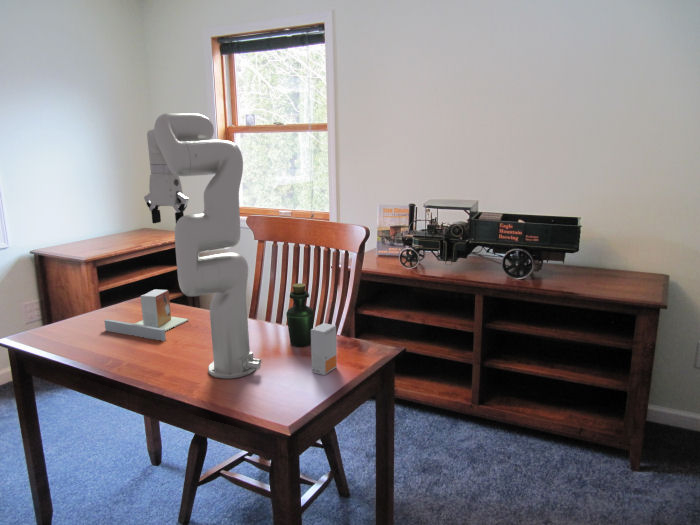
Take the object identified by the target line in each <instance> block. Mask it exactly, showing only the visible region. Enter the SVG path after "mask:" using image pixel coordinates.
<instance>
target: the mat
mask: <svg viewBox="0 0 700 525" xmlns="http://www.w3.org/2000/svg"><path fill="white" fill-rule="evenodd" d="M188 320H189V321H190V319H189V318H183V317H178V316H172V315H171V320H170V321H168V322H166V323H165V324H163V325H161V326H160V327H156V328H162V329H165V331H166V332H168V331H170V330H169V329H171V328H173V327H175V328H177V327H179V326H181V325H183V324H185V323H187V322H186V321H188ZM189 321H188V322H189ZM184 322H185V323H184ZM182 323H183V324H182ZM134 324H138V325H143V319H142V320H139V321H138V322H134ZM180 324H181V325H180ZM178 325H179V326H178ZM176 326H177V327H176ZM173 329H174V328H173ZM167 330H168V331H167ZM171 330H172V329H171Z"/></svg>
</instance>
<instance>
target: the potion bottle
mask: <svg viewBox="0 0 700 525" xmlns="http://www.w3.org/2000/svg"><path fill="white" fill-rule="evenodd" d="M292 289H293V291H290V294H289V299H292V301H293V304H294V305H293V306H292V307H290V308H288V309H287V311H286V321H287V330H288V336H289V342H290V343H289V344H291V346H293V347H297V348H305V347H308V346H311V329H313V328H314V314H315V313H314V310H313V308H311V306H308V305H306V299H308V298H310V293H309V291H307V290H306V284H305V283H301V282H300V283H294V284H292Z"/></svg>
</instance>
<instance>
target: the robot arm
mask: <svg viewBox="0 0 700 525" xmlns="http://www.w3.org/2000/svg"><path fill="white" fill-rule="evenodd" d="M153 126H154V128H153V129H149V130H148V131H147V133H146V138H147V148H148V159H149V167H150V169H149V170H150V174H149V181H148V182H149V185H148V186H149V187H148V188H149V193H148V194H146V195H145V196H144V197H143V199H144V201H145V203H146V206H147V207H148V208H149V211H150V212H151V221H152V224H159V223H161V221H162V218H161V210H160V209H159V208H160V207H172V208H173V209H174V210H175V212H174V218H175V227H174V243H175V244H174V247H175V258H176V259H175V260H176V270H177V271H176V272H177V280H178V286H179V289H180V291H181V292H182V294H184V295H185V296H186V297H200V296H205V295H209V294H210V295H211V294H214V296H213V297H212V299H211V301H210V306H209V321H210V329H211V330H210V332H211V333H210V334H211V343H212V345H211V346H212V355H213V356H212V358H213V361H212V362H211V363H209V365H208V366H207V369H208V370H207V371H208V374H209V375H210V376H212V377H214V378H218V379H228V380H229V379H238V378H242V377H244V376H247V375H250V374H252V373H253V372H255V371H256V370H257V371H259V370H260V369H261V364H262V362H263V361H262V359H261V358H255V357H254V351H251V348H250V332H249V320H248V302H247V298H248V297H247V296H248V295H247V289H248V280H249V265H248V262H247V259H246V257H244V256H243V255H242V254H239V253H236V252H223V253H218V254H217V253H216V254H210V255H209V254H208V255H204V256H200V255H201V254H202V253H208V252H214V251H220V250H226V249H232V248H235V247H236V246H237V245H238V244H239V243H240V241H241V240H240V239H241V213H240V196H239V195H240V189H241V188H240V187H241V181H242V179H243V178H242V177H243V173H244V172H243V170H244V159H243V155H242V151H241V149H240V147H239V146H238V145H237V144H236V143H235V142H234V141H233V142H232V141H230V140H224V139H223V140H222V139H213V136H214V133H215V132H214V131H215V128H214V125H213V123H212V121H211V120H210V119H209V118H208V117H207V116H205V115H203V114H202V113H201V114H200V113H195V112H193V113H191V112H185V113H184V112H183V113H182V112H180V113H179V112H178V113H177V112H175V113H173V112H172V113H169V112H168V113H162V114H161V115H159V116H158V117H157V118H156V119H155V122H154V125H153ZM208 175H212V178H211V179H210V181H209V182H208V183H207V185H206V187H205V189H204V191H203V208H204V209H203V212H201V213H192V214H187V215H185V214H184V212H185V211H186V208H187V207H188V203H189V201H190V200H189V197H187V196H185V195H184V193H183V187H182V183H181V179H180V178H181V177H195V176H208ZM213 175H214V176H213Z"/></svg>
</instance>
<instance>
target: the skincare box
mask: <svg viewBox="0 0 700 525" xmlns="http://www.w3.org/2000/svg"><path fill="white" fill-rule="evenodd" d="M310 353H311V354H310V356H311V372H312V373H314V374H318V375H322V376H325V375H327V374H328V373H330V372H332V371H333V370H334V369H336V368H337V325H335V324H331V323H326V322H323V323H321V324H319V325H316V326H315V327H313V329H311V344H310Z"/></svg>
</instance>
